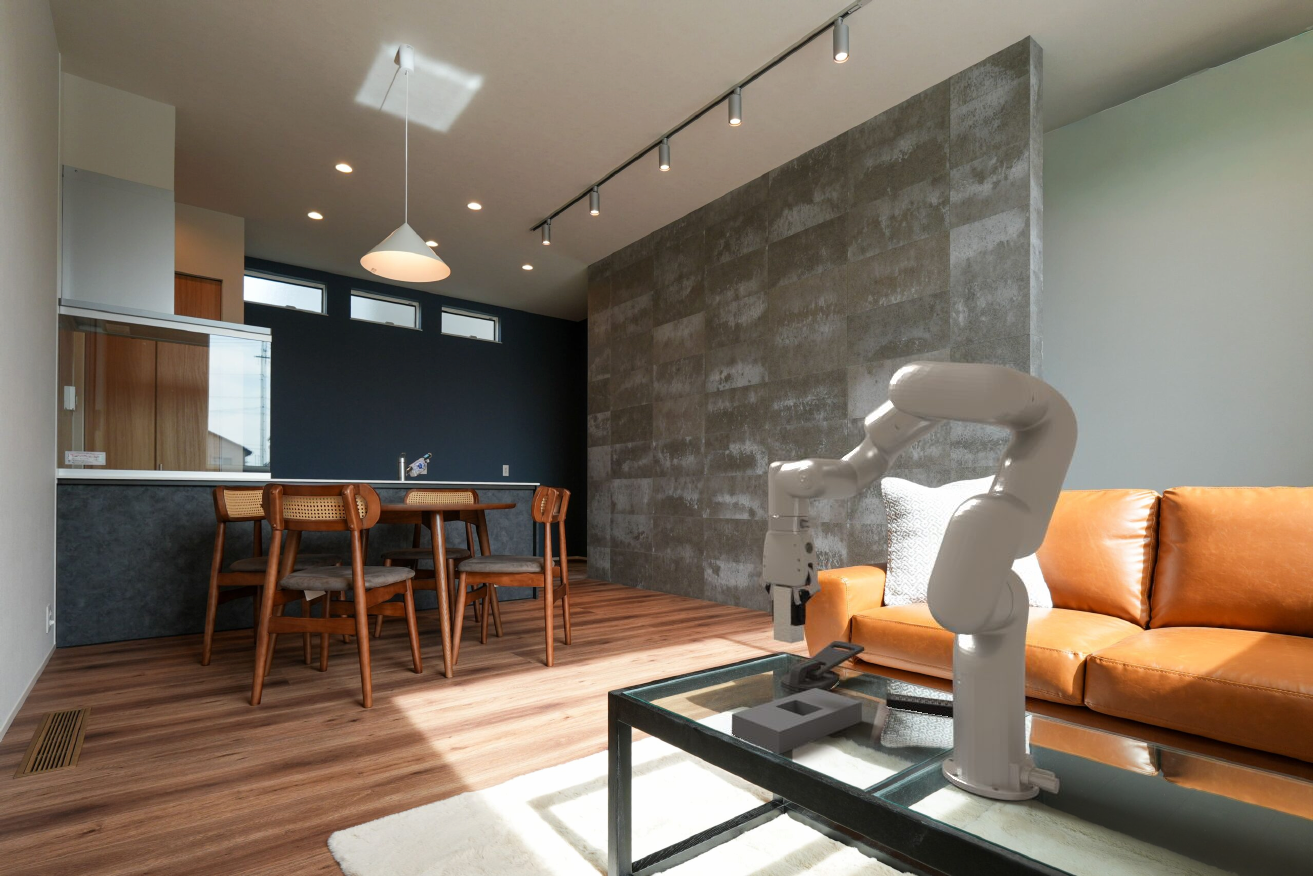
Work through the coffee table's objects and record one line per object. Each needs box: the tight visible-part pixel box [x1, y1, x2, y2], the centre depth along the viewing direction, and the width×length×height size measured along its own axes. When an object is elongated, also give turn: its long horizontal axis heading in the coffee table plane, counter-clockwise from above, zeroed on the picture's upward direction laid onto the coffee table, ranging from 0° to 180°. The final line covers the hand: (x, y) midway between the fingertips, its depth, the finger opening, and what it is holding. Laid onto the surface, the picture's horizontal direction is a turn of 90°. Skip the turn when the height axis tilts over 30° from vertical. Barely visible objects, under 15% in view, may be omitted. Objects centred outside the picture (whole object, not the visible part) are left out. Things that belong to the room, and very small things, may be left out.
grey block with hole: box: [731, 688, 863, 755], centre depth 114 cm, size 10×24×4 cm, turn 131°
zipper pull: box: [780, 640, 866, 695], centre depth 142 cm, size 9×7×25 cm
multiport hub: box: [885, 692, 953, 719], centre depth 125 cm, size 4×14×2 cm, turn 70°
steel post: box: [773, 585, 805, 644], centre depth 123 cm, size 4×4×10 cm
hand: (788, 622), depth 123 cm, fingers closed on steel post, 4 cm apart
